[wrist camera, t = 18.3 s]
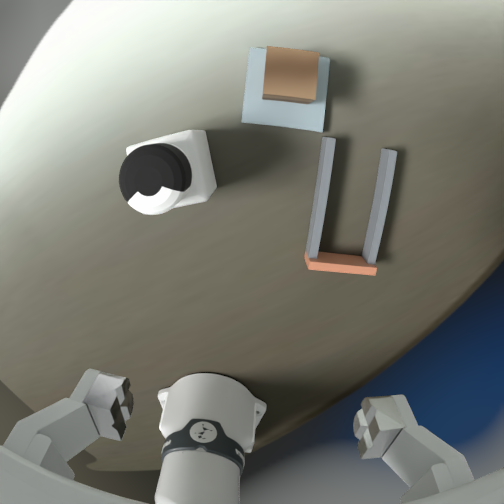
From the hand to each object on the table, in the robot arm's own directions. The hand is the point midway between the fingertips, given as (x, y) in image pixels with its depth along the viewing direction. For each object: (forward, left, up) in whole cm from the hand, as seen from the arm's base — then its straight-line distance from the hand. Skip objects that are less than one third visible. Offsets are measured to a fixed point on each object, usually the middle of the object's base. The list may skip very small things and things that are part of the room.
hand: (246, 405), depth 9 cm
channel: (+2, -11, -29) cm, 31 cm away
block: (+15, -2, -28) cm, 32 cm away
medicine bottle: (+4, +9, -29) cm, 31 cm away
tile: (+14, -2, -29) cm, 32 cm away
